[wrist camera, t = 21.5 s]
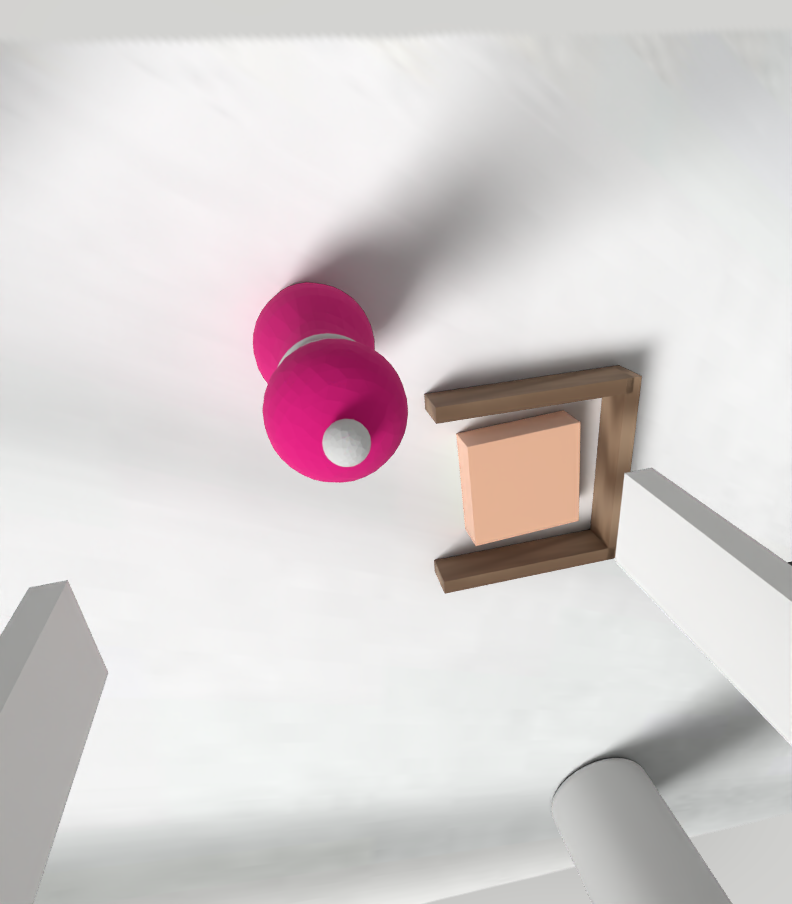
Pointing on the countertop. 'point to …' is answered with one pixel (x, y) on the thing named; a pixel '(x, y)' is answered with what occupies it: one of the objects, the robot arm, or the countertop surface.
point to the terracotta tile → (520, 476)
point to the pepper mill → (327, 385)
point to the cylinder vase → (629, 839)
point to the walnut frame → (611, 465)
